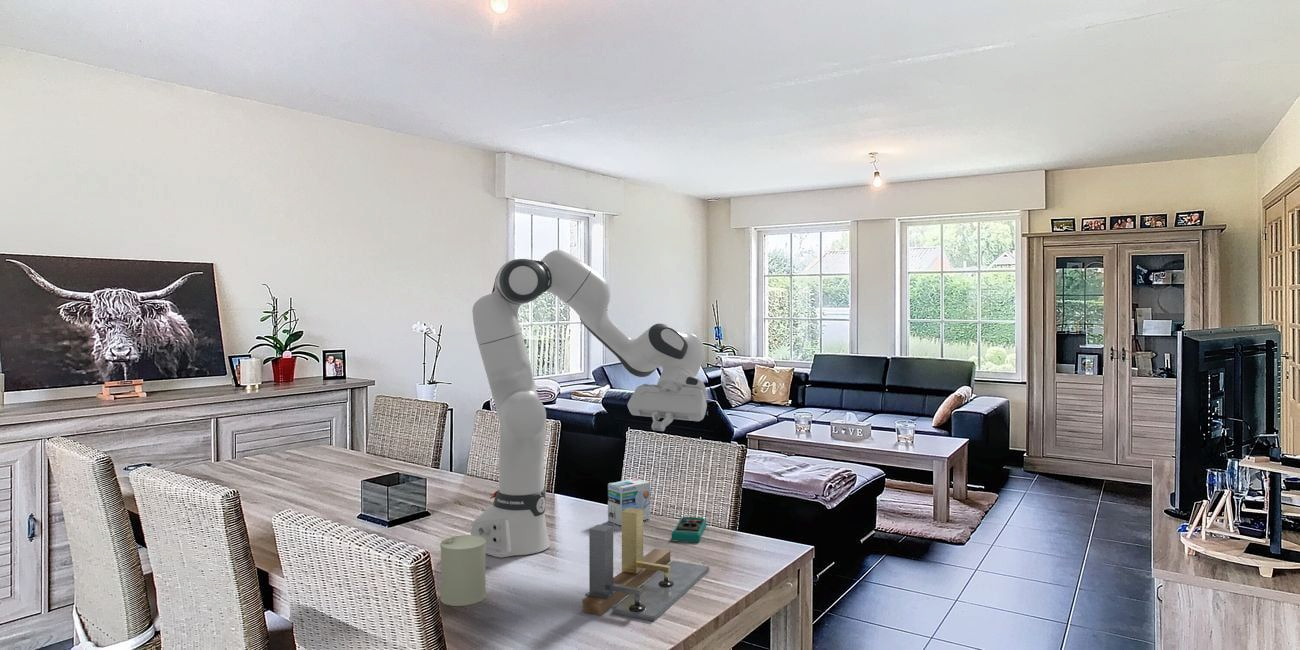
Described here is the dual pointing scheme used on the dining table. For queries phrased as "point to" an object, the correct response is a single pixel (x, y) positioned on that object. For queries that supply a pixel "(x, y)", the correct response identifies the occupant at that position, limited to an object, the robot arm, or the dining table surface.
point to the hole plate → (661, 591)
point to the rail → (626, 583)
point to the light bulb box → (628, 498)
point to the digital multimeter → (689, 529)
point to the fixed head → (604, 566)
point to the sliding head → (636, 544)
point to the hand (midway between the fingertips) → (657, 429)
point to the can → (463, 570)
